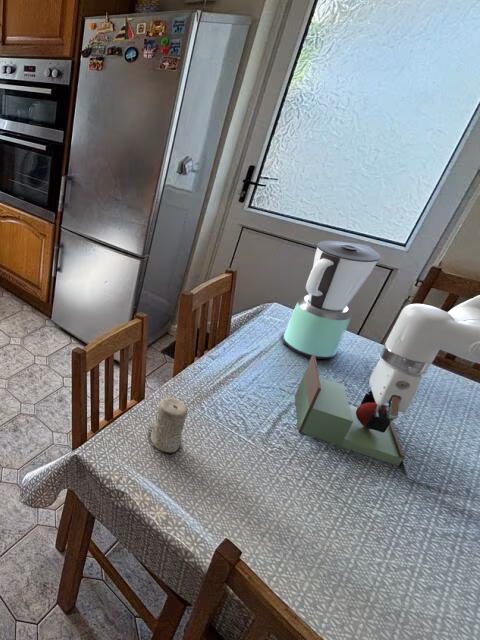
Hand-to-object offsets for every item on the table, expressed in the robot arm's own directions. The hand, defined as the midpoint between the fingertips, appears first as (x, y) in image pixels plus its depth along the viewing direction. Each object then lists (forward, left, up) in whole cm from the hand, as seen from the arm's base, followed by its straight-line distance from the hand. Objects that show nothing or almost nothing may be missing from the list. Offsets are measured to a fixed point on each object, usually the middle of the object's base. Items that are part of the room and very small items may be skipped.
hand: (371, 418), depth 97 cm
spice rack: (+4, 0, -5) cm, 7 cm away
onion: (0, 0, -3) cm, 3 cm away
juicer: (+9, -33, -6) cm, 35 cm away
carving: (+40, +28, -6) cm, 49 cm away
